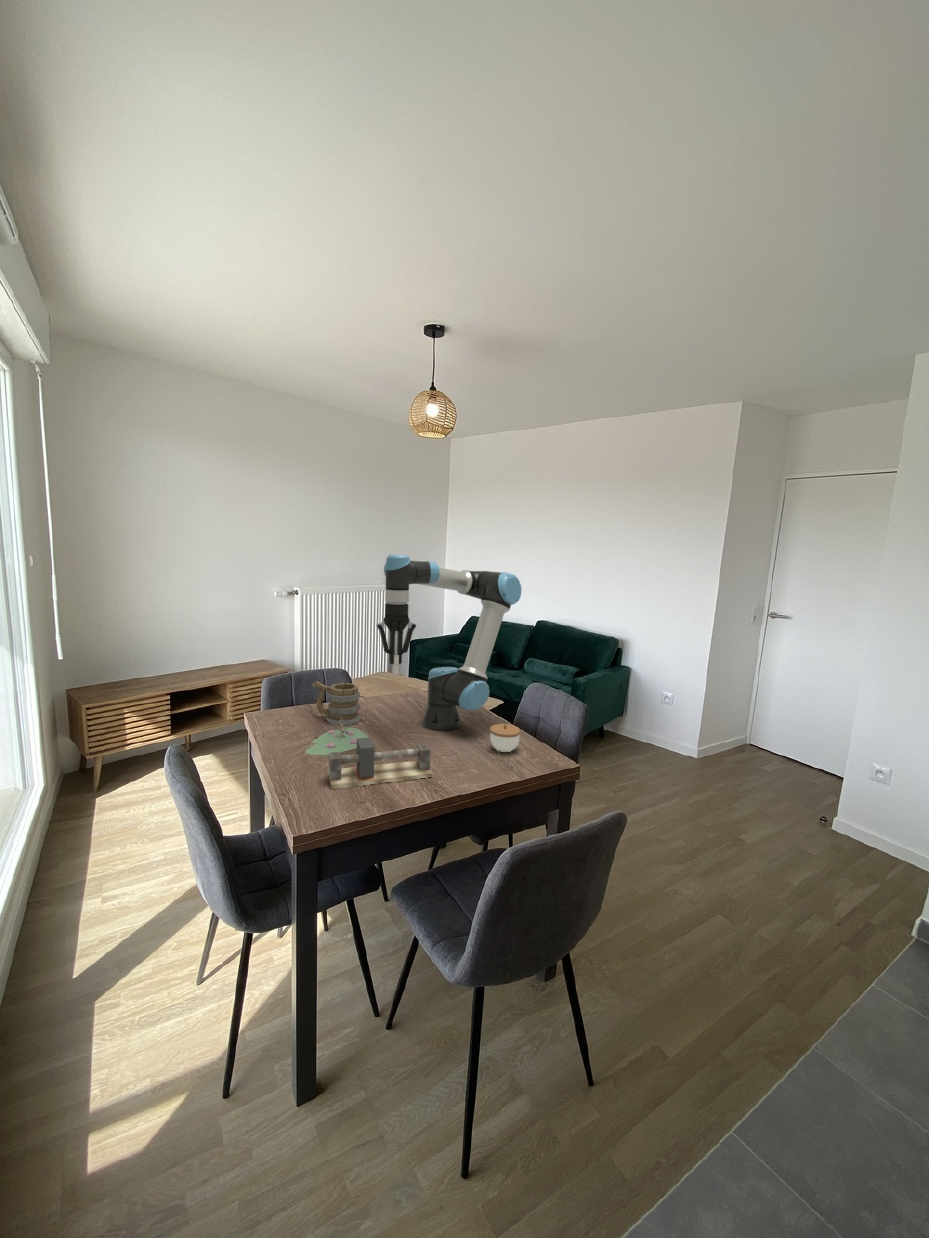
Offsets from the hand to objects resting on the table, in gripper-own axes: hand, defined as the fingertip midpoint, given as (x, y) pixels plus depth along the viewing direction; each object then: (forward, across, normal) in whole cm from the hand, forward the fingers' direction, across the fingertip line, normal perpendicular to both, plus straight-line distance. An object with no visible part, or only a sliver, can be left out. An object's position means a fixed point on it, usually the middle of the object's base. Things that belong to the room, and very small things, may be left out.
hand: (395, 673), depth 167 cm
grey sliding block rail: (+28, +7, +15) cm, 33 cm away
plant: (+29, +17, -15) cm, 37 cm away
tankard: (+29, +15, -40) cm, 52 cm away
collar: (+26, +12, +15) cm, 32 cm away
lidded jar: (+29, -39, +5) cm, 48 cm away
